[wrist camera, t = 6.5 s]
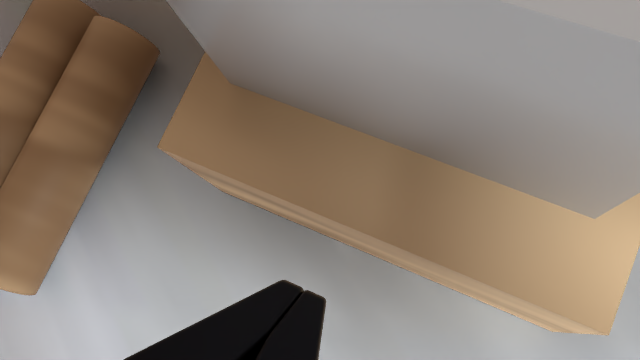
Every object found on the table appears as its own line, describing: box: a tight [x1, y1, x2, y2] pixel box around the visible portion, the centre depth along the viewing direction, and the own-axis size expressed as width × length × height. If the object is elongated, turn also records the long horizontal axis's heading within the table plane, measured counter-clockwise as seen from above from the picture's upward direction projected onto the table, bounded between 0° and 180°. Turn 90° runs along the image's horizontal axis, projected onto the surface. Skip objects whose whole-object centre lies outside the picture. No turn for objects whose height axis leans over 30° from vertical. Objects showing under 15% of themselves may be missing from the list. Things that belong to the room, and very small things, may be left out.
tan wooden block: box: [157, 52, 640, 335], centre depth 16 cm, size 7×11×5 cm, turn 66°
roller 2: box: [0, 16, 160, 295], centre depth 19 cm, size 9×2×2 cm, turn 156°
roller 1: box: [0, 0, 101, 189], centre depth 20 cm, size 9×2×2 cm, turn 156°
